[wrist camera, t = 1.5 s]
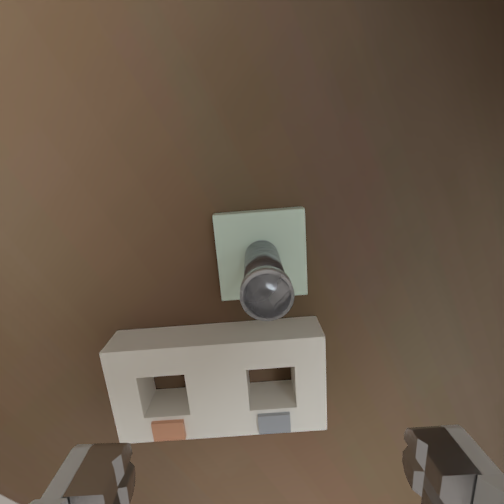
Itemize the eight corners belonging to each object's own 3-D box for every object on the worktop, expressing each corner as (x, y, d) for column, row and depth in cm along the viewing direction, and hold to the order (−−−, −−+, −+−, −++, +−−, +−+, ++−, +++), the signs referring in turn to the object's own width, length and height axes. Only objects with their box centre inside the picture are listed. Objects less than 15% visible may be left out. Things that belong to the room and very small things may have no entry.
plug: (279, 236, 28) (293, 268, 19) (281, 272, 29) (295, 319, 20) (241, 239, 28) (237, 272, 19) (244, 275, 29) (242, 323, 20)
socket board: (316, 315, 32) (326, 339, 27) (318, 400, 34) (328, 433, 30) (117, 330, 32) (96, 355, 28) (134, 412, 34) (118, 447, 30)
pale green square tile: (301, 206, 29) (304, 208, 27) (305, 288, 31) (307, 294, 29) (214, 213, 29) (212, 215, 27) (223, 294, 31) (221, 301, 29)
